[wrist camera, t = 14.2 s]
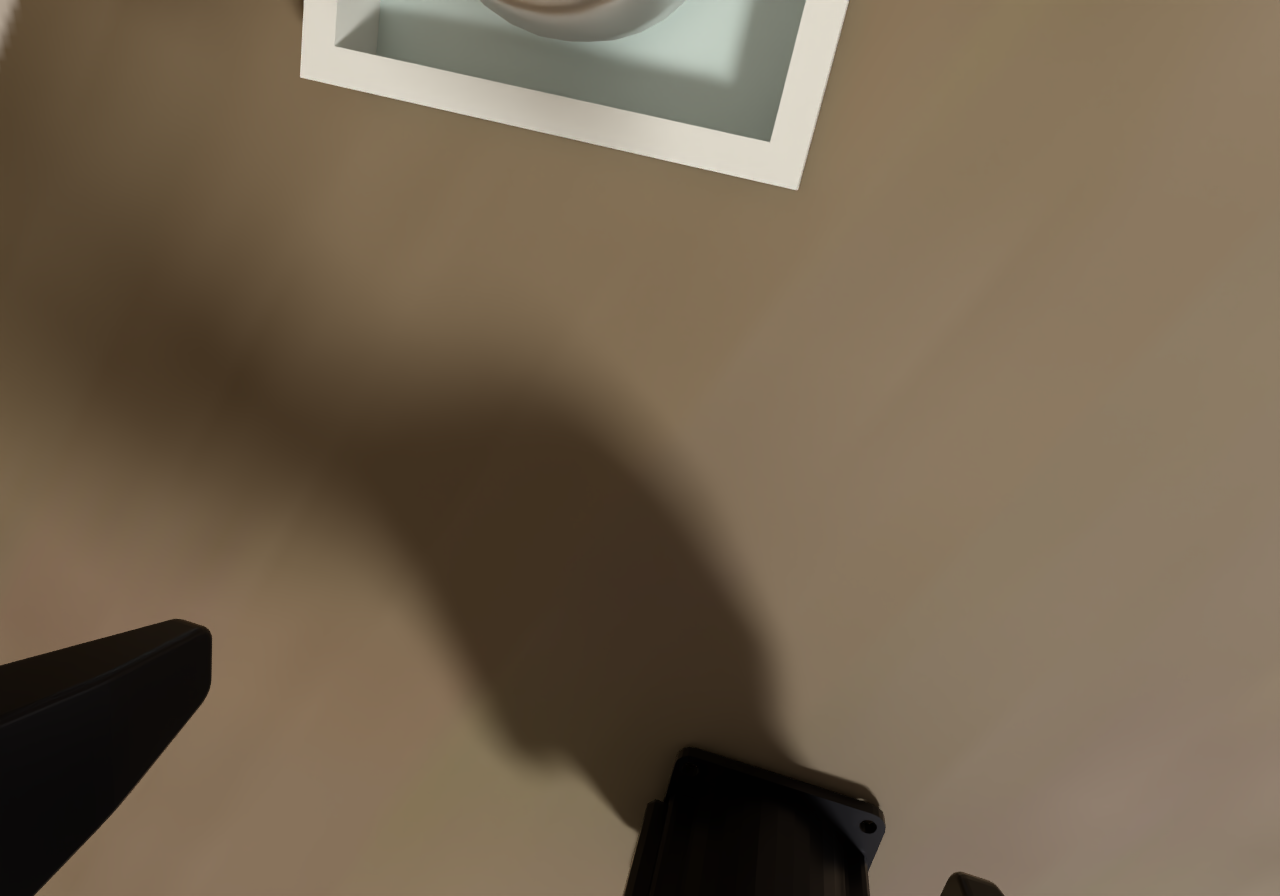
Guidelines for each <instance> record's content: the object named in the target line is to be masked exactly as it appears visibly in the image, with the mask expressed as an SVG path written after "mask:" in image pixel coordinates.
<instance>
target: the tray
mask: <svg viewBox="0 0 1280 896" xmlns="http://www.w3.org/2000/svg"><path fill="white" fill-rule="evenodd" d="M848 4H849V0H686V1H685V2H684V3H683V4H682V5H681V6H679V7H678V8H677V9H676V10H675V11H674V12H672V13H671V14H670V15H669V16H668V17H667V18H666V19H664V20H662V21H660V22H659V23H657V24H655V25H653V26H651V27H650V28H648V29H646V30H644V31H642V32H641V33H638V34H634V35H631V36H627V37H624V38H621V39H617V40H614V41H596V42H569V41H563V40H558V39H552V38H547V37H541V36H538V35H535V34H533V33H531V32H528V31H526V30H524V29H521V28H519V27H517V26H514V25H512V24H510V23H509V22H507V21H506V20H504V19H503V18H502V17H500V16H499V15H497V14H496V13H495V12H493V11H492V10H490V9H489V8H487V7H486V6H485V5H484V4H483V3H482V2H481V1H480V0H304V11H303V31H302V51H301V70H300V77H301V78H305V79H310V80H314V81H319V82H323V83H327V84H332V85H336V86H341V87H345V88H349V89H354V90H358V91H363V92H367V93H371V94H376V95H380V96H385V97H389V98H393V99H398V100H402V101H407V102H411V103H415V104H420V105H424V106H429V107H433V108H437V109H442V110H446V111H451V112H455V113H459V114H464V115H468V116H473V117H477V118H481V119H486V120H490V121H495V122H499V123H503V124H508V125H512V126H517V127H521V128H525V129H530V130H534V131H539V132H543V133H547V134H552V135H556V136H561V137H565V138H569V139H574V140H578V141H583V142H587V143H591V144H596V145H600V146H605V147H609V148H613V149H618V150H622V151H627V152H631V153H635V154H640V155H644V156H649V157H653V158H657V159H662V160H666V161H671V162H675V163H679V164H684V165H688V166H693V167H697V168H701V169H706V170H710V171H714V172H719V173H723V174H728V175H732V176H736V177H741V178H745V179H750V180H754V181H758V182H763V183H767V184H772V185H776V186H780V187H785V188H789V189H794V190H798V189H799V185H800V181H801V178H802V174H803V170H804V167H805V163H806V159H807V156H808V152H809V148H810V144H811V141H812V137H813V133H814V130H815V126H816V122H817V119H818V115H819V111H820V108H821V104H822V100H823V96H824V93H825V89H826V85H827V82H828V78H829V74H830V71H831V67H832V63H833V60H834V56H835V52H836V48H837V45H838V41H839V37H840V34H841V30H842V26H843V23H844V19H845V15H846V11H847V8H848Z"/></svg>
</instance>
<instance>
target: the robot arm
mask: <svg viewBox="0 0 1280 896" xmlns="http://www.w3.org/2000/svg"><path fill="white" fill-rule="evenodd" d="M211 674H212V635H211V633H210V631H209V629H207V628H206V627H204V626H201V625H198V624H195V623H192V622H189V621H186V620H182V619H172V620H168V621H164V622H161V623H157V624H153V625H150V626H146V627H142V628H138V629H135V630H131V631H127V632H123V633H120V634H116V635H112V636H109V637H105V638H101V639H97V640H94V641H90V642H86V643H82V644H79V645H75V646H71V647H68V648H64V649H60V650H56V651H53V652H49V653H45V654H41V655H38V656H34V657H30V658H27V659H23V660H19V661H15V662H12V663H8V664H4V665H0V896H34V895H35V894H36V893H37V892H38V891H39V890H40V889H41V888H42V887H43V886H44V885H45V884H46V883H47V882H48V881H49V880H50V879H51V877H52V876H53V875H54V874H55V873H56V872H57V871H58V870H59V869H60V868H61V867H62V866H63V865H64V864H65V863H66V862H67V861H68V860H69V859H70V858H71V857H72V856H73V855H74V854H75V853H76V852H77V850H78V849H79V848H80V847H81V846H82V845H83V844H84V843H85V842H86V841H87V840H88V839H89V838H90V837H91V836H92V835H93V834H94V833H95V832H96V831H97V830H98V829H99V828H100V826H101V825H102V824H103V823H104V822H105V821H106V820H107V819H108V818H109V817H110V816H111V815H112V813H113V812H114V811H115V810H116V809H117V808H118V807H119V805H120V804H121V803H122V802H123V801H124V800H125V798H126V797H127V796H128V795H129V794H130V793H131V791H132V790H133V789H134V788H135V786H136V785H137V784H138V783H139V781H140V780H141V779H142V778H143V776H144V775H145V774H146V773H147V771H148V770H149V769H150V768H151V766H152V765H153V764H154V763H155V761H156V760H157V759H158V758H159V756H160V755H161V754H162V753H163V752H164V750H165V749H166V748H167V747H168V745H169V744H170V743H171V742H172V740H173V739H174V738H175V737H176V735H177V734H178V733H179V732H180V730H181V729H182V728H183V727H184V725H185V724H186V723H187V722H188V720H189V719H190V718H191V717H192V715H193V714H194V713H195V712H196V710H197V709H198V708H199V707H200V705H201V704H202V703H203V701H204V700H205V698H206V696H207V694H208V692H209V689H210V685H211ZM688 762H689V763H693V764H695V765H696V766H697V767H689V766H688V765H686V763H688ZM864 820H871V821H873V823H870V824H867V823H863V822H862V821H864ZM885 828H886V827H885V818H884V815H883V812H882V811H881V810H880V809H879V808H878V807H876V806H874V805H873V804H869V803H866V802H863V801H860V800H857V799H854V798H851V797H848V796H844V795H841V794H838V793H835V792H832V791H829V790H826V789H823V788H819V787H816V786H813V785H810V784H807V783H804V782H801V781H798V780H794V779H791V778H788V777H785V776H782V775H779V774H776V773H772V772H769V771H766V770H763V769H760V768H757V767H754V766H751V765H747V764H744V763H741V762H738V761H735V760H732V759H729V758H726V757H722V756H719V755H716V754H713V753H710V752H707V751H704V750H701V749H697V748H692V747H687V748H683V749H682V750H680V751H679V752H678V754H677V756H676V760H675V763H674V767H673V770H672V774H671V777H670V781H669V784H668V787H667V791H666V794H665V798H664V801H663V802H662V801H659V800H656V799H655V800H653V801H652V802H650V803H648V805H647V808H646V812H645V815H644V819H643V822H642V826H641V830H640V833H639V837H638V840H637V844H636V847H635V851H634V855H633V858H632V862H631V866H630V870H629V873H628V877H627V881H626V885H625V889H624V893H623V896H870V891H869V880H868V870H869V868H870V866H871V863H872V861H873V859H874V856H875V854H876V852H877V849H878V847H879V845H880V842H881V840H882V838H883V835H884V833H885ZM940 896H1004V894H1003V893H1002V892H1001V890H1000V889H999V888H998V887H997V886H996V885H995V884H994V883H992V882H990V881H988V880H985V879H982V878H979V877H976V876H973V875H970V874H967V873H964V872H955V873H953V874H952V875H951V876H950V878H949V879H948V881H947V883H946V885H945V887H944V889H943V891H942V893H941V895H940Z"/></svg>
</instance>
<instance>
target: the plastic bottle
mask: <svg viewBox="0 0 1280 896" xmlns="http://www.w3.org/2000/svg"><path fill="white" fill-rule="evenodd" d="M480 1H481V2H482V3H483V4H484V5H485V6H486V7H487V8H489V9H490V10H492V11H493V12H495V13H496V14H497V15H499V16H500V17H502V18H503V19H504V20H506V21H507V22H509V23H510V24H512V25H514V26H517V27H519V28H521V29H524V30H526V31H528V32H531V33H533V34H535V35H538V36H541V37H547V38H552V39H558V40H563V41H569V42H596V41H614V40H617V39H621V38H624V37H627V36H631V35H634V34H638V33H641V32H642V31H644V30H646V29H648V28H650V27H651V26H653V25H655V24H657V23H659V22H660V21H662V20H664V19H666V18H667V17H668V16H669V15H670V14H671V13H672V12H674V11H675V10H676V9H677V8H678V7H679V6H681V5H682V4H683V3H684V2H685V1H686V0H480Z"/></svg>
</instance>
